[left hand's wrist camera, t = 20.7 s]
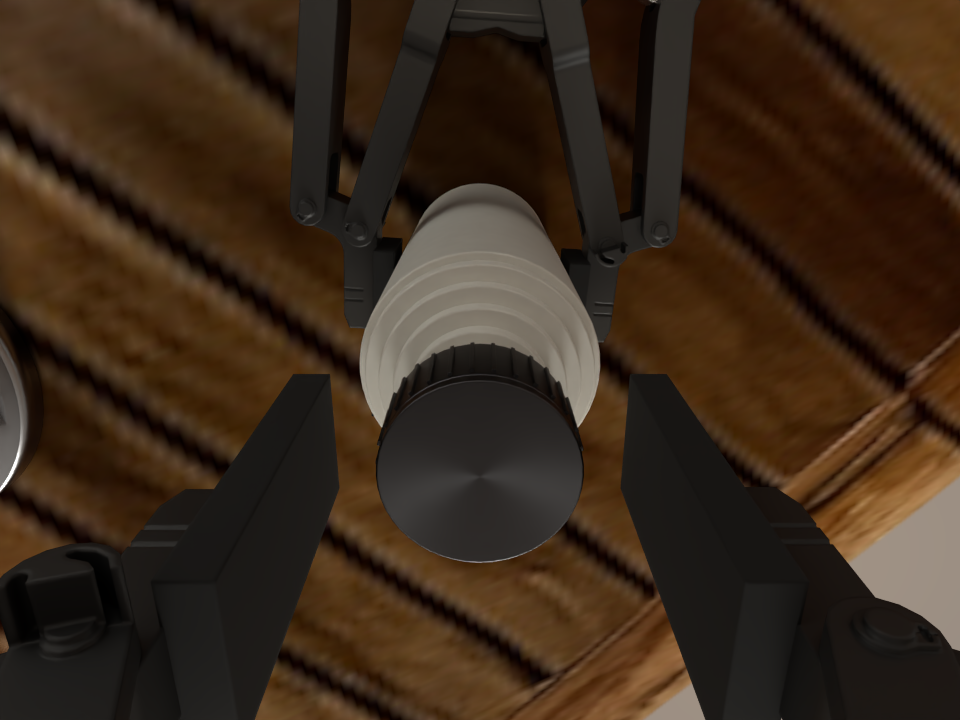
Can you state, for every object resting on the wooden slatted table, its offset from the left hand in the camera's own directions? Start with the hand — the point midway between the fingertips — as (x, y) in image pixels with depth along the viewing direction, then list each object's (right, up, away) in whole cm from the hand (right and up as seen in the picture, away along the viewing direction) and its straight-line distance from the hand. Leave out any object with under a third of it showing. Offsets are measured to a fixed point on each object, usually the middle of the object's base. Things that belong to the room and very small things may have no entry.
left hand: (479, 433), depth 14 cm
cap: (0, 0, -1) cm, 1 cm away
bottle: (0, +7, +18) cm, 19 cm away
